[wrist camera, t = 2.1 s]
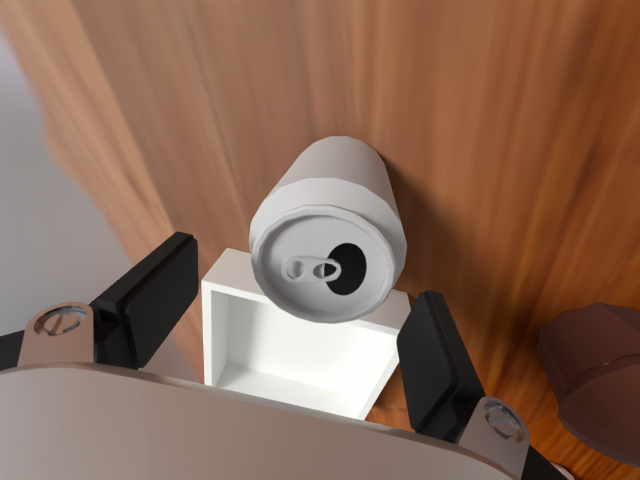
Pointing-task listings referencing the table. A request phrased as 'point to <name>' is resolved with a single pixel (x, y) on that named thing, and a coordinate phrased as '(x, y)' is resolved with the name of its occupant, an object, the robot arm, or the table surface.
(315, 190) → the can
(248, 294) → the tote
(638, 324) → the muffin
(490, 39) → the table surface
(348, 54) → the table surface
